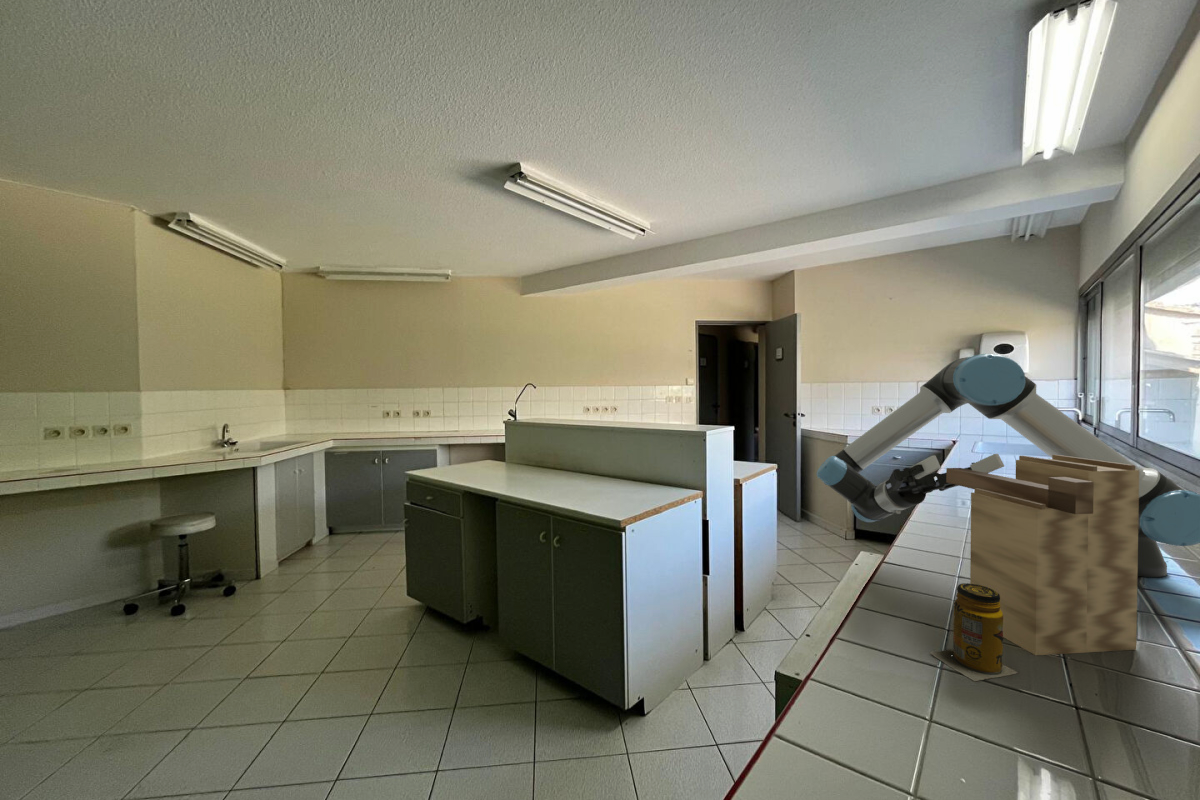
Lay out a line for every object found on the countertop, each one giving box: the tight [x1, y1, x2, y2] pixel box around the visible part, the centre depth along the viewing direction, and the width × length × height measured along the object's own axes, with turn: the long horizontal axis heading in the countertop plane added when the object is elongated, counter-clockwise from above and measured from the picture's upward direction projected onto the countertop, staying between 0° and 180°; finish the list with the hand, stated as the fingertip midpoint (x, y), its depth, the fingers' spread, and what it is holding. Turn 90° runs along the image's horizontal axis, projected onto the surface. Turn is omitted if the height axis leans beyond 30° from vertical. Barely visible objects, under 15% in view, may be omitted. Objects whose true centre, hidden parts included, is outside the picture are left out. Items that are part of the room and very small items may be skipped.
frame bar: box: [945, 467, 1094, 514], centre depth 82 cm, size 3×24×5 cm, turn 4°
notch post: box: [969, 455, 1139, 656], centre depth 80 cm, size 18×12×31 cm, turn 94°
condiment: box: [929, 582, 1019, 682], centre depth 71 cm, size 7×8×12 cm
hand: (968, 460), depth 90 cm, fingers open, 13 cm apart
